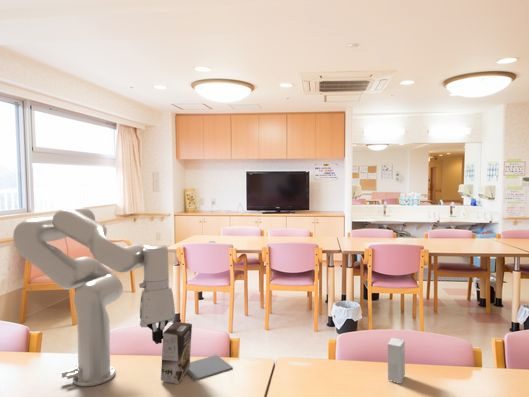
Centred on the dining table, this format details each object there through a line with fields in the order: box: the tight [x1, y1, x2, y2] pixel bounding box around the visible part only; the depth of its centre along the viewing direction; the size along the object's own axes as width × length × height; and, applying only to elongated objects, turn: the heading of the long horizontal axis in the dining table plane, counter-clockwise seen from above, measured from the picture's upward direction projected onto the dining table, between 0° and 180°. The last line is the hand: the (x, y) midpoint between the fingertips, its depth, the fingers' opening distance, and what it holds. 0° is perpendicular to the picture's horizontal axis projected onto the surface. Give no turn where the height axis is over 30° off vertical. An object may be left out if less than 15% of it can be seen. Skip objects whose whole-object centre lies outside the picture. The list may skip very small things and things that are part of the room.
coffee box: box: [160, 321, 193, 385], centre depth 120 cm, size 9×6×16 cm
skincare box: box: [387, 337, 406, 384], centre depth 119 cm, size 6×4×12 cm
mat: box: [186, 354, 234, 382], centre depth 127 cm, size 14×12×1 cm
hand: (157, 342), depth 118 cm, fingers closed
